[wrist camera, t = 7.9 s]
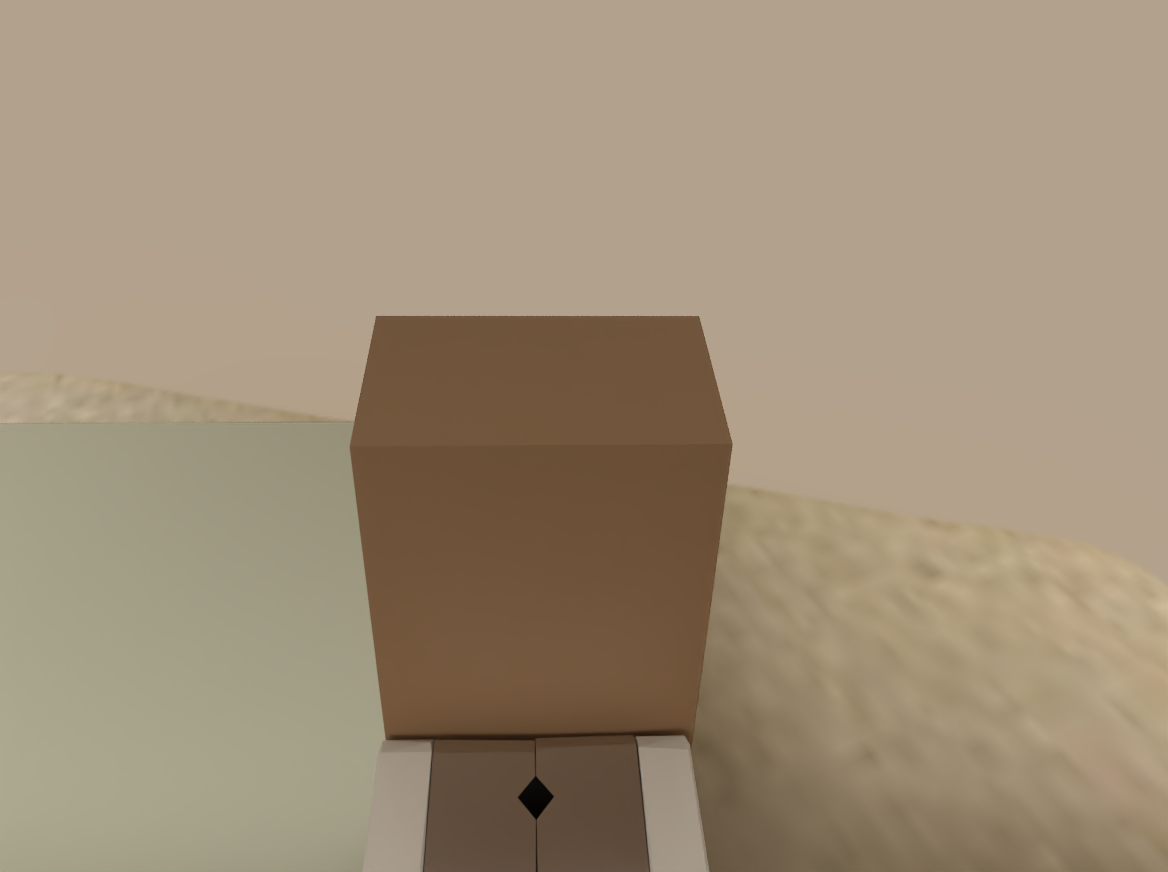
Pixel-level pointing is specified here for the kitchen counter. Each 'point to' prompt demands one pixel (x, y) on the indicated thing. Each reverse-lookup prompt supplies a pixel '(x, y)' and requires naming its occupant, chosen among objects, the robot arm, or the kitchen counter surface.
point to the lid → (351, 590)
